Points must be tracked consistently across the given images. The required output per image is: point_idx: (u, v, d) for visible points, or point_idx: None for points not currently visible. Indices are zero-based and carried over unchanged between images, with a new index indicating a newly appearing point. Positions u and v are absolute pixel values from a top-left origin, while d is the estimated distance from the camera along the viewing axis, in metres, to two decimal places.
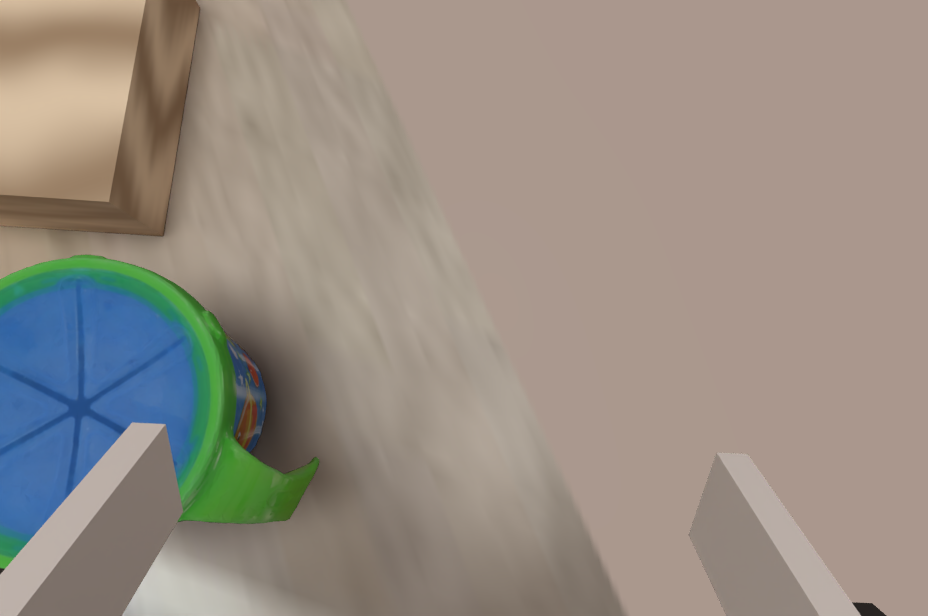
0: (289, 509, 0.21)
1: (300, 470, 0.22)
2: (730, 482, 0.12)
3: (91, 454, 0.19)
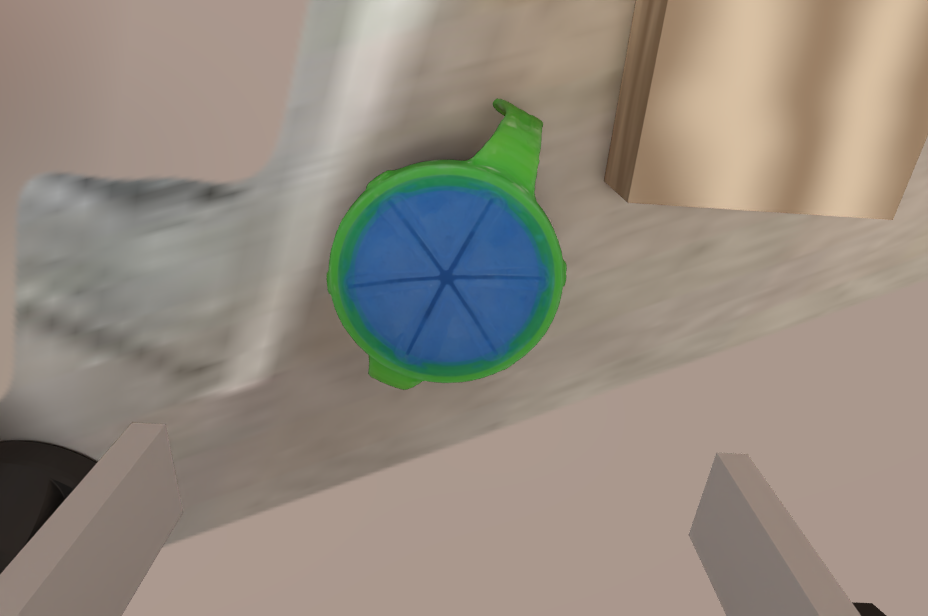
0: None
1: None
2: (730, 482, 0.12)
3: (412, 291, 0.25)
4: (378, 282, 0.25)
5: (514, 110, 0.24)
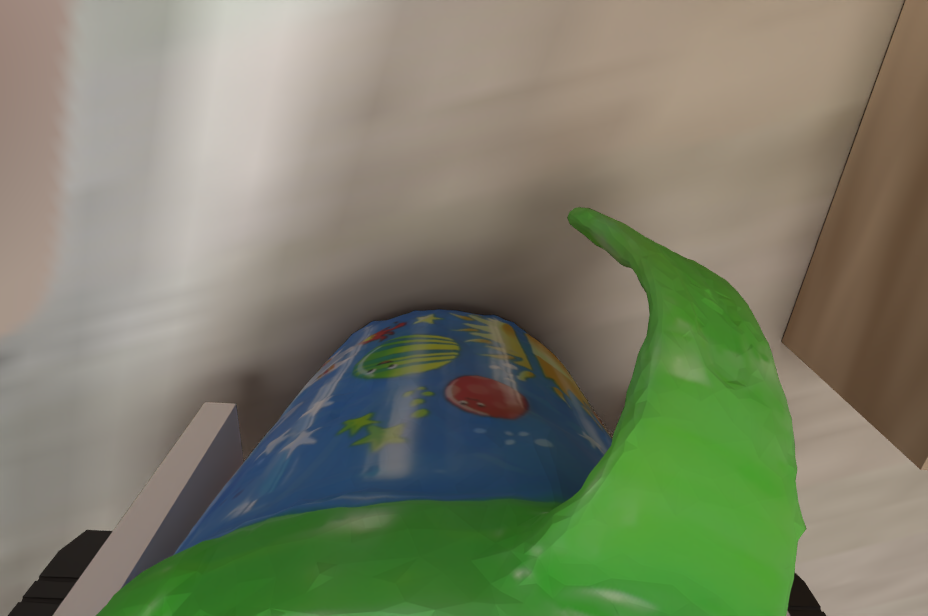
0: None
1: None
2: None
3: None
4: None
5: (674, 284, 0.07)
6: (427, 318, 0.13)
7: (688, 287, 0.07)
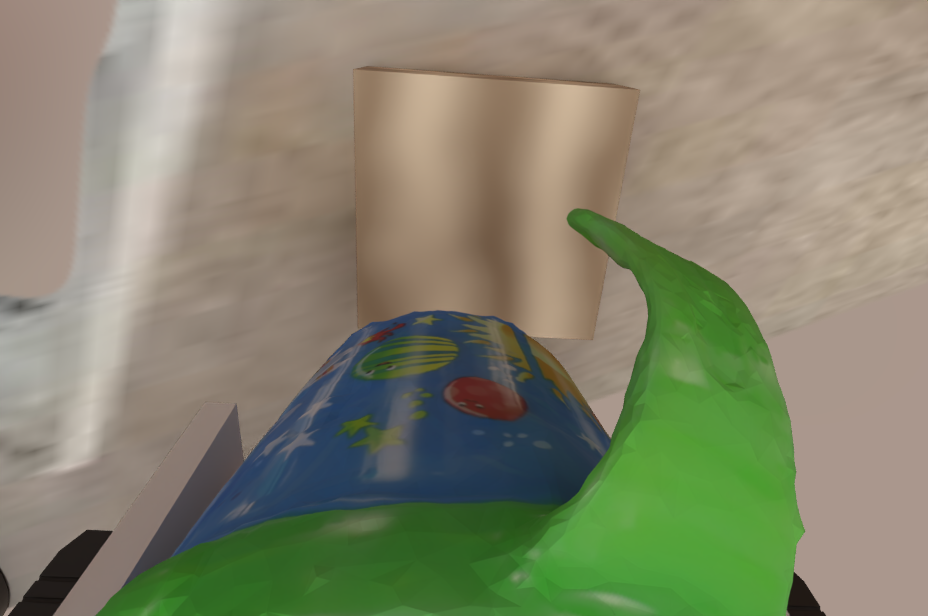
0: None
1: None
2: None
3: None
4: None
5: (673, 286, 0.07)
6: (426, 319, 0.13)
7: (687, 289, 0.07)
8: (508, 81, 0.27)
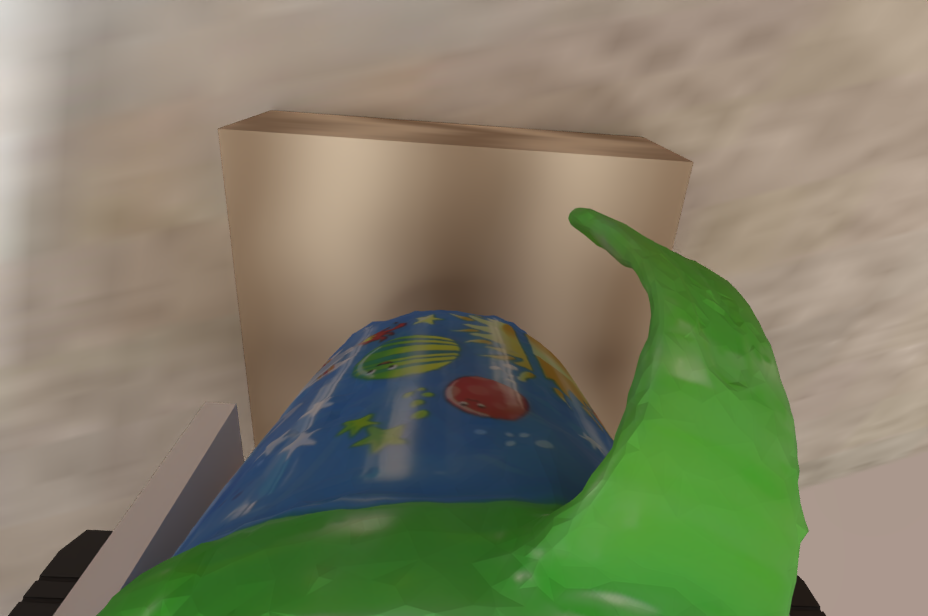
0: None
1: None
2: None
3: None
4: None
5: (676, 284, 0.07)
6: (427, 318, 0.13)
7: (689, 288, 0.07)
8: (476, 148, 0.16)
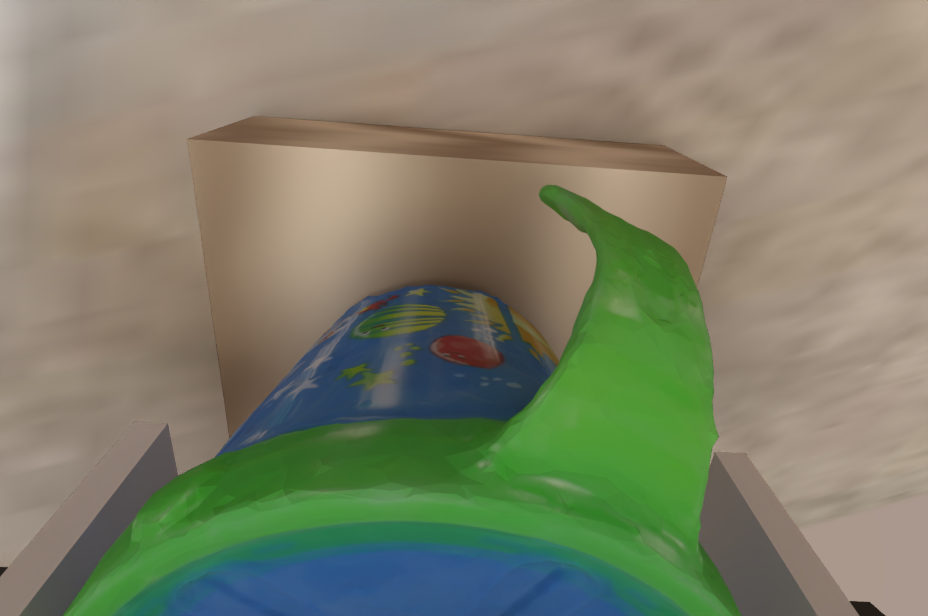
0: None
1: None
2: (728, 481, 0.12)
3: None
4: None
5: (619, 243, 0.08)
6: (417, 291, 0.14)
7: (632, 247, 0.08)
8: (481, 161, 0.14)
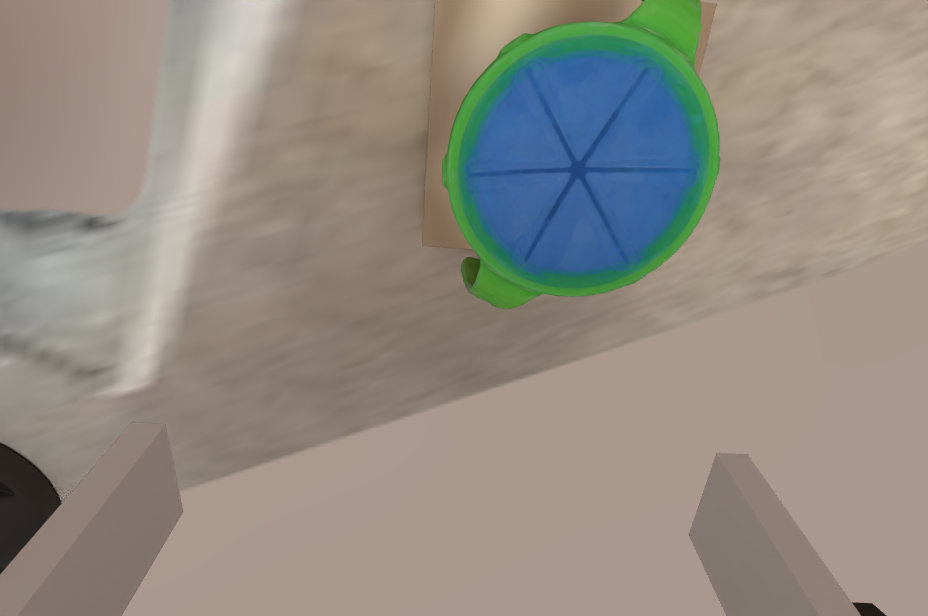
0: None
1: None
2: (730, 482, 0.12)
3: (536, 185, 0.22)
4: (500, 172, 0.22)
5: None
6: None
7: None
8: None
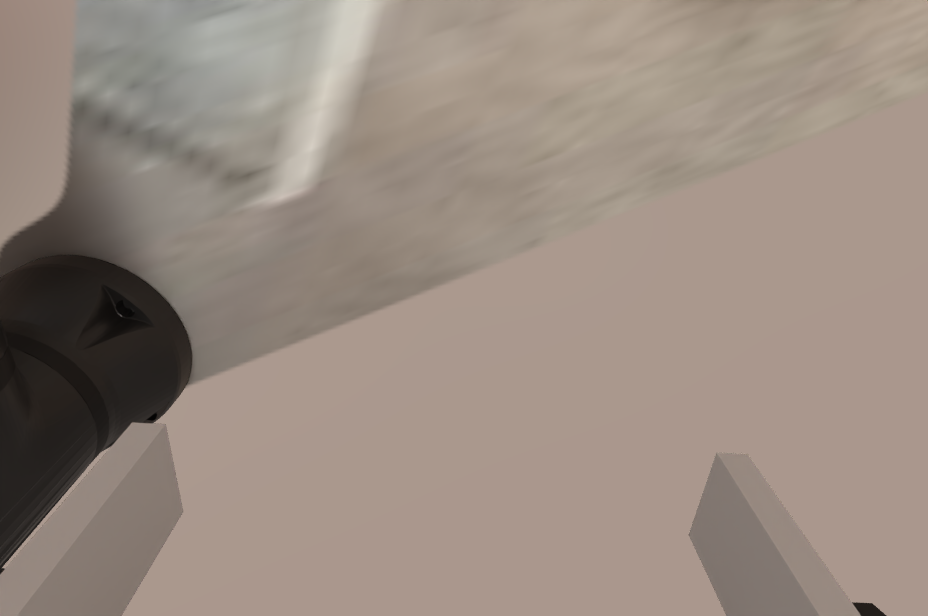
0: None
1: None
2: (730, 482, 0.12)
3: None
4: None
5: None
6: None
7: None
8: None
